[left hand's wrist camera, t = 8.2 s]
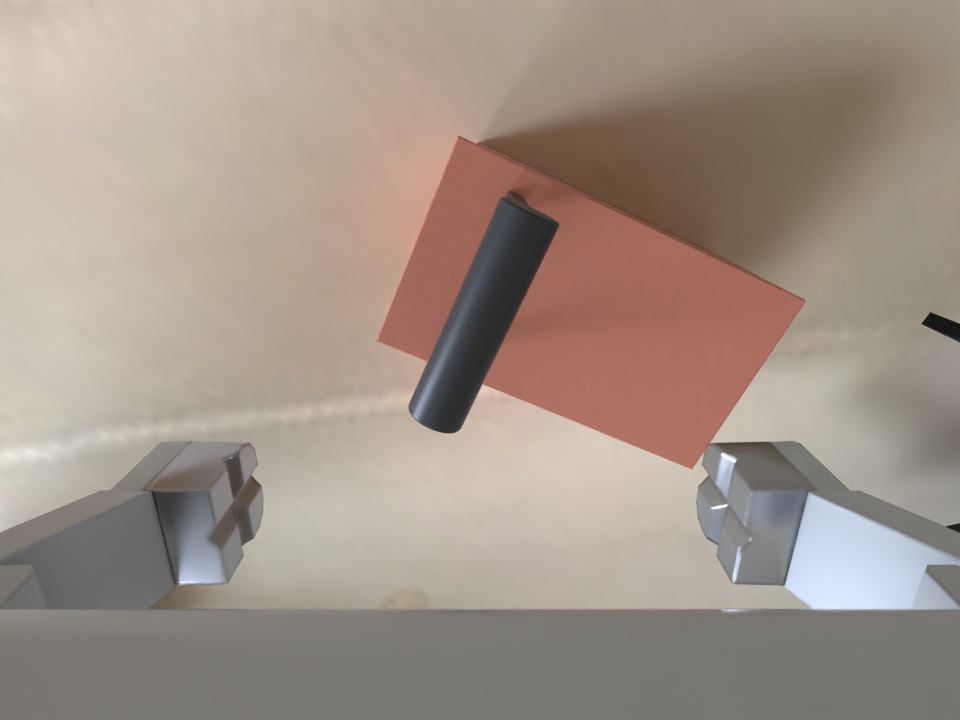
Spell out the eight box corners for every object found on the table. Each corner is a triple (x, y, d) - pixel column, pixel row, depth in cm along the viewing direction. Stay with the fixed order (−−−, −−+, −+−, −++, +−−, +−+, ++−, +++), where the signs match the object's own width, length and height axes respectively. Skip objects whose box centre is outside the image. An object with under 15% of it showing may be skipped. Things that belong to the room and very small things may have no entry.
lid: (379, 333, 28) (335, 419, 19) (458, 135, 24) (446, 135, 16) (685, 459, 30) (763, 583, 22) (794, 294, 27) (935, 366, 18)
